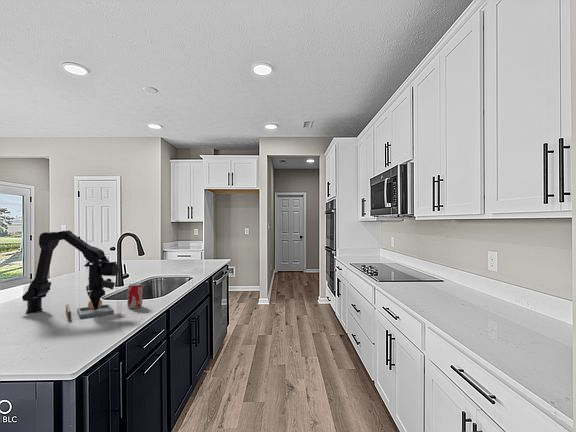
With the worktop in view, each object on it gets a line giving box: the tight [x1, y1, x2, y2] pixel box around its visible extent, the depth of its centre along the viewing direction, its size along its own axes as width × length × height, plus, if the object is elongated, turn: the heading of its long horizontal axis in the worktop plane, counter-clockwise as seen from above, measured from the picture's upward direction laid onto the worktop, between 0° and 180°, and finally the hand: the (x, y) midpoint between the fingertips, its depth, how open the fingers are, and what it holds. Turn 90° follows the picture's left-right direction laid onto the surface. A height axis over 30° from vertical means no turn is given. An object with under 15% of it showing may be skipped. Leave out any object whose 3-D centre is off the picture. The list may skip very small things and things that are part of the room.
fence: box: [65, 304, 72, 322], centre depth 158 cm, size 16×1×4 cm, turn 36°
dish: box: [76, 303, 115, 320], centre depth 165 cm, size 14×14×2 cm
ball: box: [87, 298, 103, 310], centre depth 165 cm, size 6×6×6 cm
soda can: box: [126, 282, 143, 309], centre depth 175 cm, size 7×7×12 cm
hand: (95, 307), depth 165 cm, fingers closed on ball, 6 cm apart
